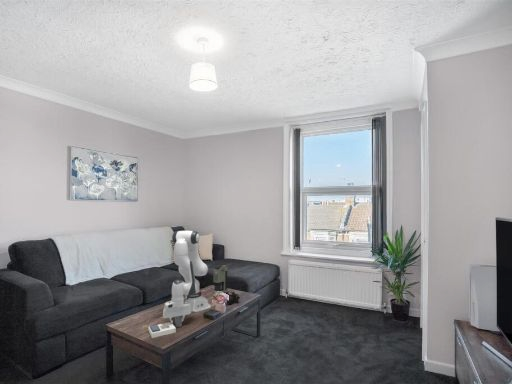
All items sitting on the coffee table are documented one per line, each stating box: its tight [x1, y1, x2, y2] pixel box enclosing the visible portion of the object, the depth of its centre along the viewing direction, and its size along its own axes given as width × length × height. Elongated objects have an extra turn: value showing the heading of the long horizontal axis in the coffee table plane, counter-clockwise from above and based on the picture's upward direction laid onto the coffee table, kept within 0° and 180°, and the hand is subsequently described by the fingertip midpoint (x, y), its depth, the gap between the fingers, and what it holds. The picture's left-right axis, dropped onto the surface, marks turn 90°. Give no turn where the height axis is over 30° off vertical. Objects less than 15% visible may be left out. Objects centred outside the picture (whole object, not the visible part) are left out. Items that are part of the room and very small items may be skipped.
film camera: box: [224, 290, 241, 306], centre depth 262 cm, size 18×12×10 cm
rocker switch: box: [174, 316, 183, 328], centre depth 214 cm, size 4×4×6 cm
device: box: [213, 263, 229, 295], centre depth 283 cm, size 14×8×30 cm, turn 144°
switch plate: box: [147, 321, 177, 339], centre depth 204 cm, size 16×12×4 cm
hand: (176, 322), depth 213 cm, fingers open, 6 cm apart
